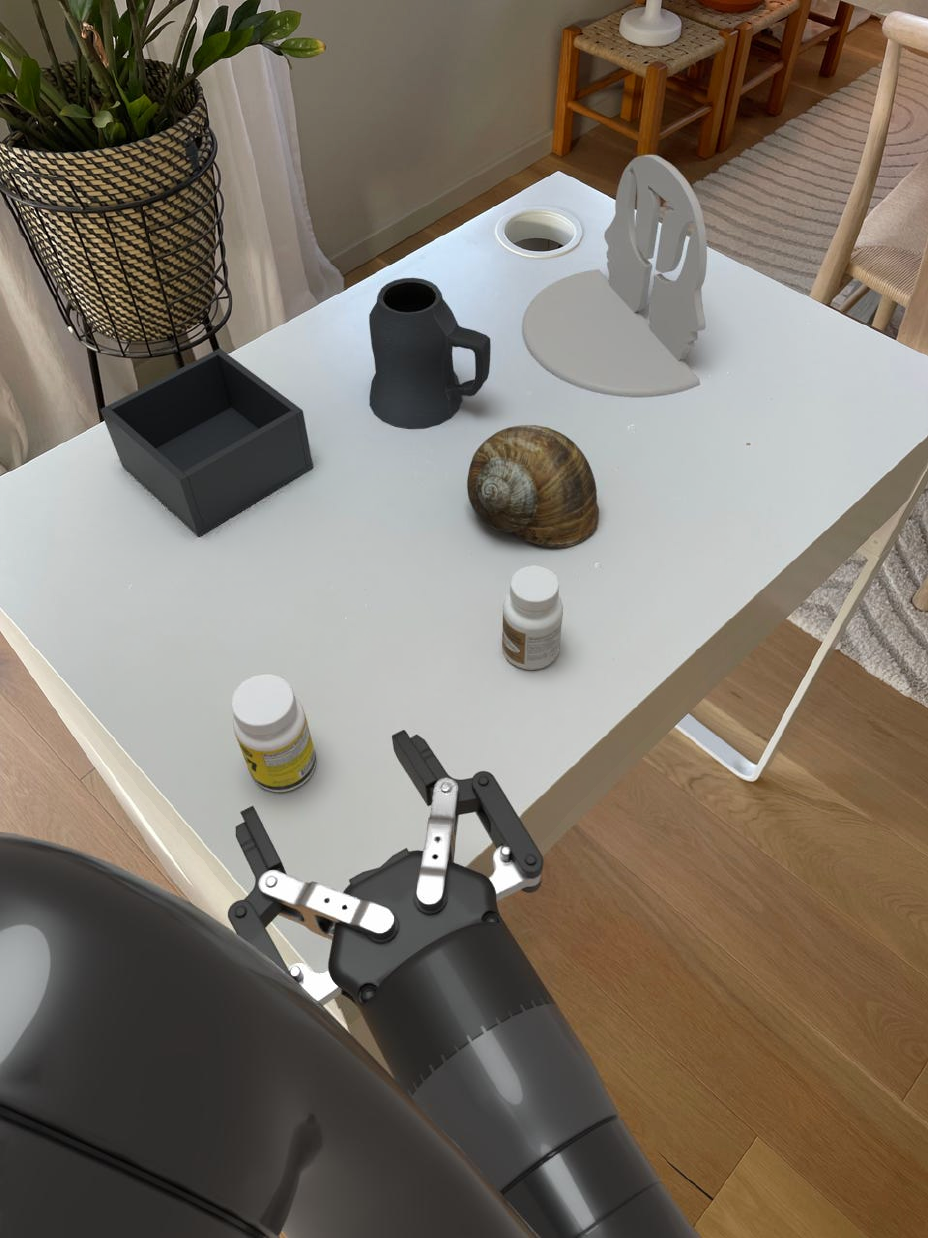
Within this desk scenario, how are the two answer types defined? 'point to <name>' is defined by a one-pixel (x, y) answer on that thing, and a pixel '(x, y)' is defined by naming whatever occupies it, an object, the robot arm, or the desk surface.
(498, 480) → the seashell
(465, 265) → the desk surface
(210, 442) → the bin
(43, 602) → the desk surface
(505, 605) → the pill bottle
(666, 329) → the ornament
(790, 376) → the desk surface
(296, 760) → the supplement bottle
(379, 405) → the mug
